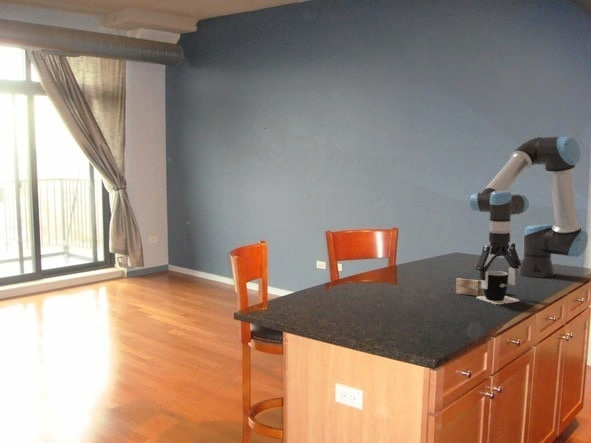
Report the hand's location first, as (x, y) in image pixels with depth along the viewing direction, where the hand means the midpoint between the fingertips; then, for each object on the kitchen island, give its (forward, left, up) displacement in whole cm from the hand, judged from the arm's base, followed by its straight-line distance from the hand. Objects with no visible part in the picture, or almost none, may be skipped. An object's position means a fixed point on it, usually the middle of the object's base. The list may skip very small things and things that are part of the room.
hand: (498, 286), depth 221 cm
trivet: (0, 0, -5) cm, 5 cm away
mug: (0, 0, -5) cm, 5 cm away
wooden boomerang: (-1, -12, -5) cm, 13 cm away
